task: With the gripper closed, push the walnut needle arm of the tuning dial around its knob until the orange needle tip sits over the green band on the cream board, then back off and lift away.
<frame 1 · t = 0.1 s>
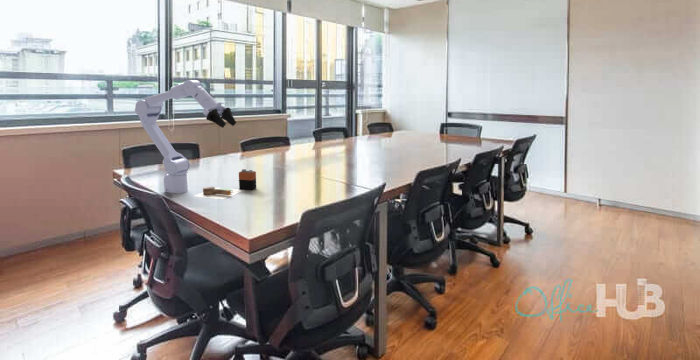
hand: (229, 124, 177), 32 cm above the table, tool tilted 50°, fingers open, 7 cm apart
dial: (217, 191, 187), point 2 cm above the table, hinge at 0.0°
battery: (248, 191, 199), on the table
board: (219, 195, 190), on the table
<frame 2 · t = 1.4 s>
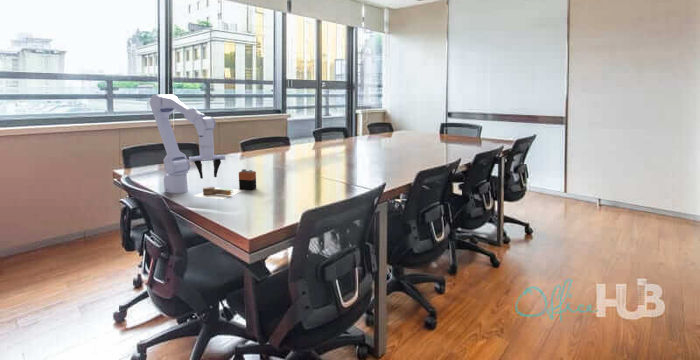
hand: (208, 177, 182), 9 cm above the table, tool pointing down, fingers open, 5 cm apart
nothing on the table moved.
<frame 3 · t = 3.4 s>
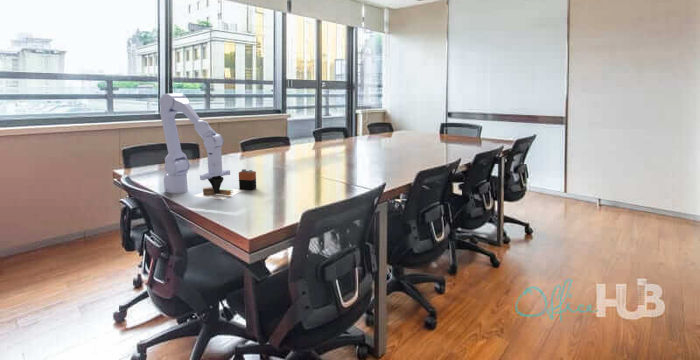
hand: (216, 193, 185), 2 cm above the table, tool pointing down, fingers closed, pressing on dial
dial: (217, 191, 187), point 2 cm above the table, hinge at 0.0°, touching gripper
everything else where it was.
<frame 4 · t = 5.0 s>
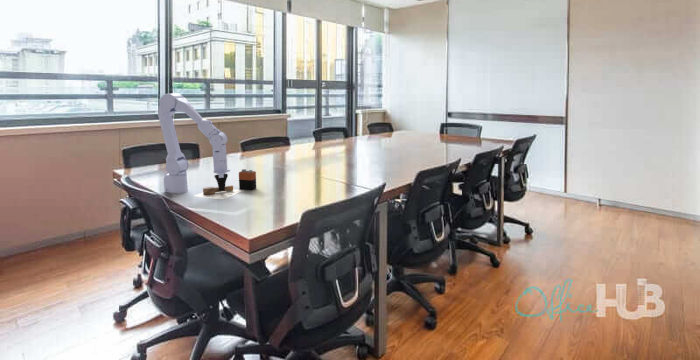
hand: (222, 190, 190), 2 cm above the table, tool pointing down, fingers closed, pressing on dial
dial: (218, 189, 190), point 2 cm above the table, hinge at 50.8°, touching gripper
everything else where it was.
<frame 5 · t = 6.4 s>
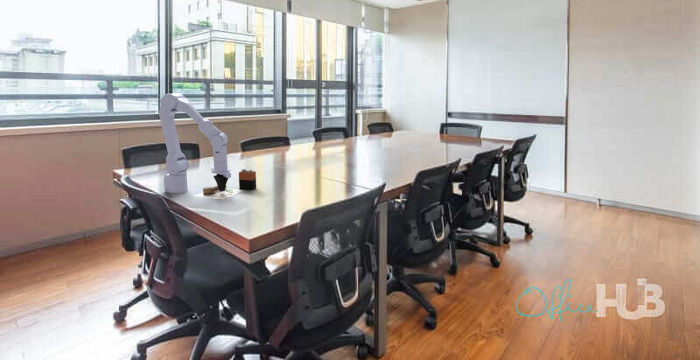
hand: (222, 191, 190), 2 cm above the table, tool pointing down, fingers closed
dial: (215, 189, 192), point 2 cm above the table, hinge at 83.7°
everything else where it was.
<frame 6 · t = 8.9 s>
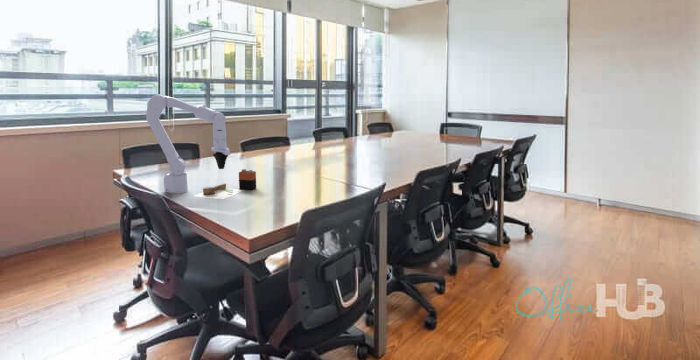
hand: (221, 168, 196), 10 cm above the table, tool pointing down, fingers closed
nothing on the table moved.
at the end: dial at +84° (first picture: +0°); battery moved 0.2 cm from its start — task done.
